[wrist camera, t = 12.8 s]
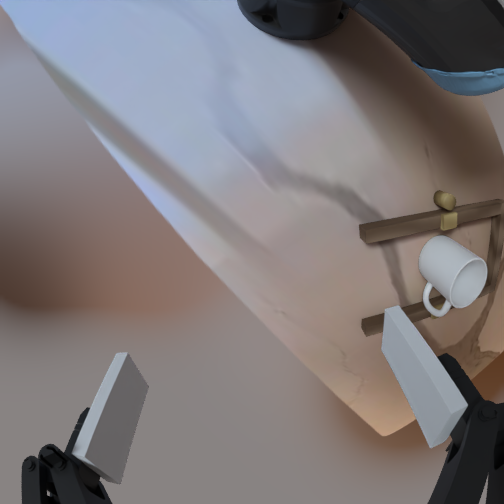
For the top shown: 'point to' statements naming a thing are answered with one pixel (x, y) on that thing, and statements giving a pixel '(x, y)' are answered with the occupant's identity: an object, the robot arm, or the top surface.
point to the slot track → (446, 220)
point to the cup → (451, 273)
